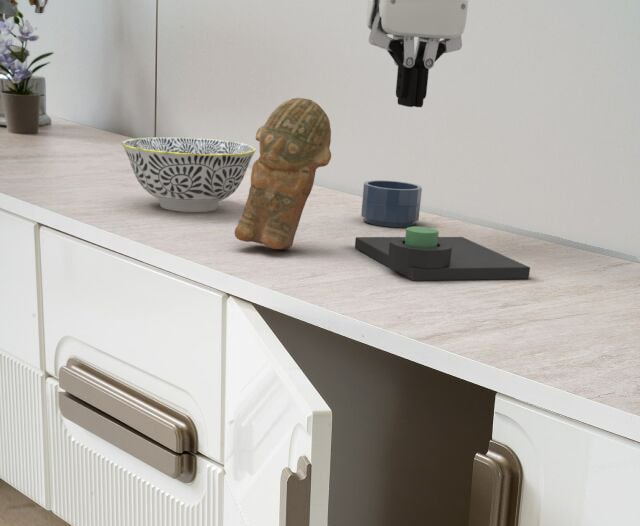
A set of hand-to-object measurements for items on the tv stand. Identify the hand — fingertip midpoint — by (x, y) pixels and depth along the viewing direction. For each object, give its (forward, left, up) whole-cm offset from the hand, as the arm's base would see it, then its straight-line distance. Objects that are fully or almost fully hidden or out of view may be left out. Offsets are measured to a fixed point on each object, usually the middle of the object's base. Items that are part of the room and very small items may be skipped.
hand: (409, 105), depth 124 cm
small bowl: (-3, -9, -14) cm, 17 cm away
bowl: (+20, -18, -15) cm, 31 cm away
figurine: (+16, +6, -15) cm, 23 cm away
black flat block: (+1, +13, -14) cm, 20 cm away
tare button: (+6, +18, -12) cm, 22 cm away
